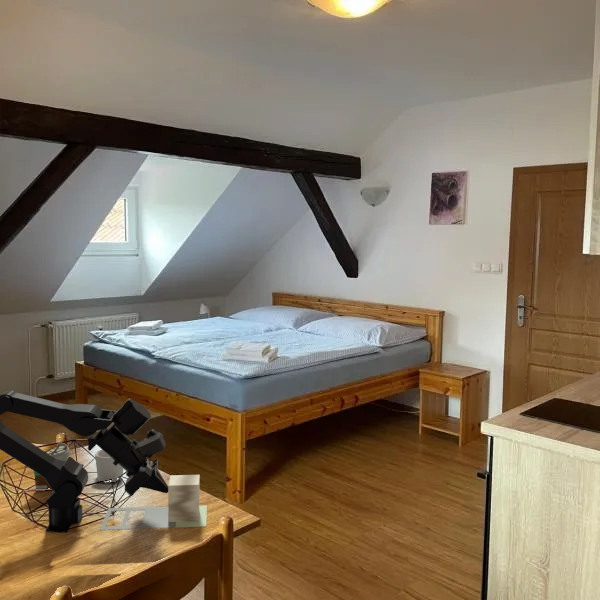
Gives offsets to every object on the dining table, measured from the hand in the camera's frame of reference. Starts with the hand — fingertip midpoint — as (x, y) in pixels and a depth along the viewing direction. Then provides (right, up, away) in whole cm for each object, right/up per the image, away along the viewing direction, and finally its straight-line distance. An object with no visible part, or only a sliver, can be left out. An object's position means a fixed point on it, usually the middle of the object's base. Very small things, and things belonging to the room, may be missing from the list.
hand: (168, 491), depth 145 cm
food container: (-35, -5, +20) cm, 41 cm away
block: (+4, -6, +1) cm, 7 cm away
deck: (-3, -8, 0) cm, 8 cm away
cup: (-22, -5, +26) cm, 34 cm away
